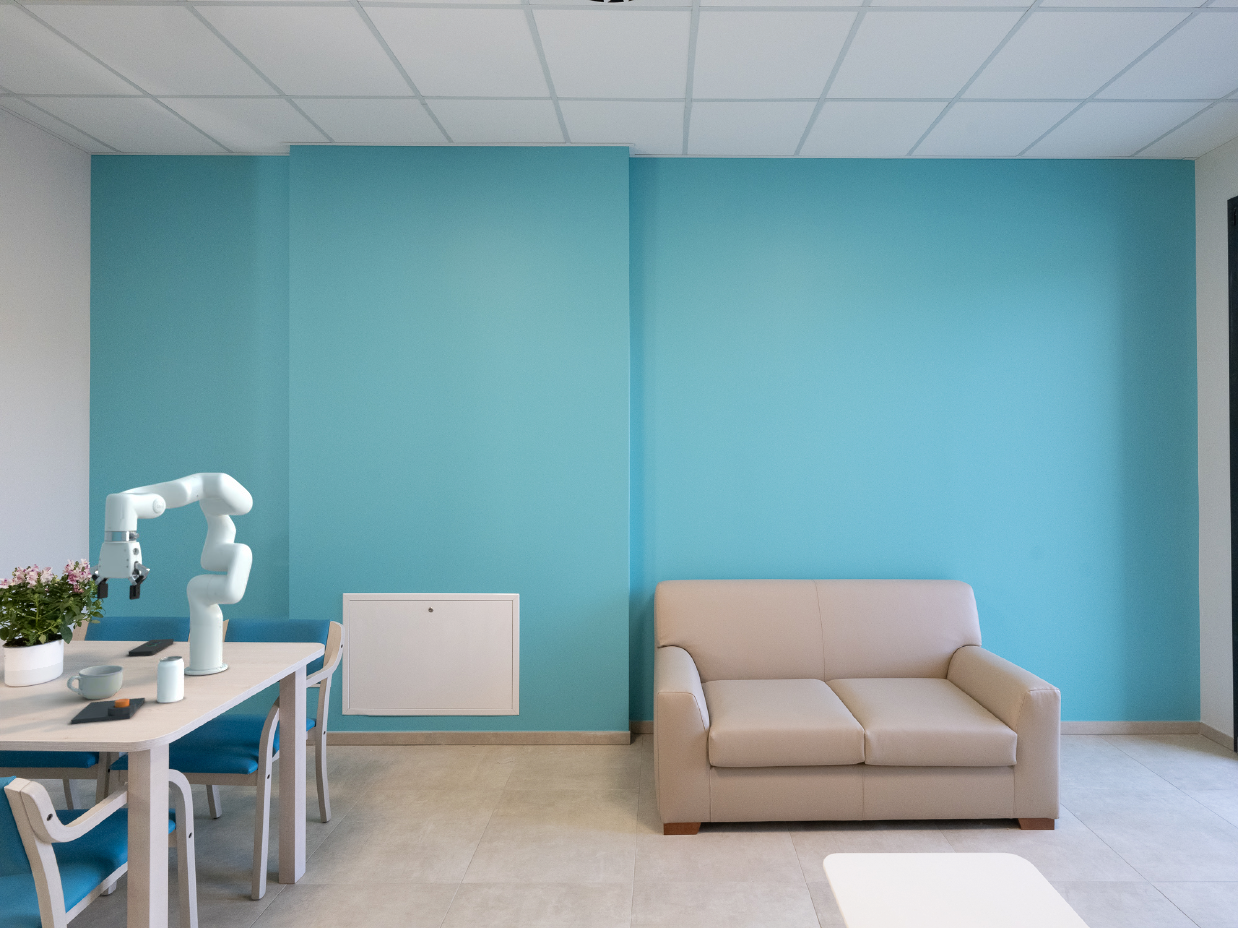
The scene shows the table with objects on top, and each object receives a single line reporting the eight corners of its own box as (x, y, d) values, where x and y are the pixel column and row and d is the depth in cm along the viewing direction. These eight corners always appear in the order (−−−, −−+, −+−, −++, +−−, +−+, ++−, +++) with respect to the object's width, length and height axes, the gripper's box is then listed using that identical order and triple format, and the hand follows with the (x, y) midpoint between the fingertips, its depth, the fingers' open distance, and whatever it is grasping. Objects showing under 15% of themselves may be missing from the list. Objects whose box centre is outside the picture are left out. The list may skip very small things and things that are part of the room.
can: (151, 702, 211) (152, 660, 211) (171, 696, 217) (171, 654, 217) (169, 704, 209) (169, 661, 209) (188, 698, 215) (189, 656, 215)
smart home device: (174, 638, 285) (152, 650, 266) (174, 642, 285) (152, 655, 266) (150, 639, 284) (127, 651, 264) (150, 643, 284) (127, 656, 264)
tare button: (116, 705, 200) (116, 698, 200) (130, 704, 201) (130, 697, 201) (113, 709, 197) (113, 702, 197) (127, 707, 198) (127, 701, 198)
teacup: (115, 689, 224) (116, 662, 224) (128, 695, 217) (129, 668, 217) (59, 699, 213) (60, 671, 213) (71, 707, 206) (71, 678, 206)
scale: (90, 706, 207) (90, 695, 207) (147, 701, 212) (147, 690, 212) (71, 724, 192) (71, 712, 192) (132, 718, 197) (132, 707, 197)
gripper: (158, 537, 212) (156, 597, 211) (102, 536, 214) (100, 596, 213) (139, 538, 205) (137, 601, 204) (81, 537, 206) (78, 599, 206)
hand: (118, 598), depth 208 cm, fingers open, 9 cm apart
